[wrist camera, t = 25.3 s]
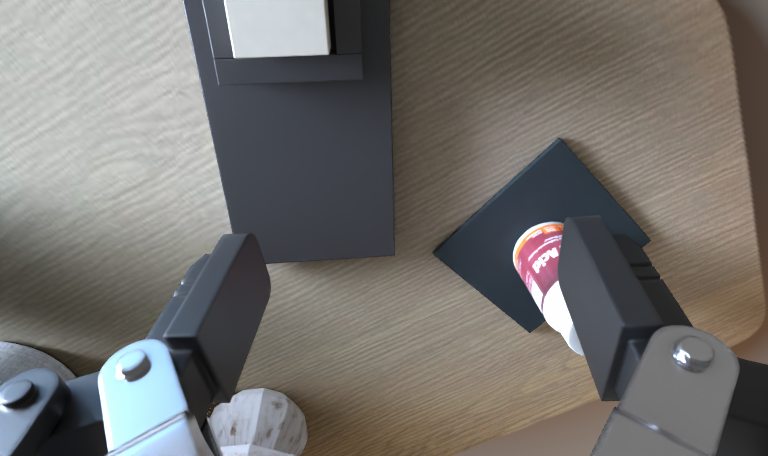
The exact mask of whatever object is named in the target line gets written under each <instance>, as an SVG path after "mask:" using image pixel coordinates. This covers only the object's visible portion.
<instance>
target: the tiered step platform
mask: <svg viewBox="0 0 768 456" xmlns="http://www.w3.org/2000/svg"><path fill="white" fill-rule="evenodd" d="M327 2H328V15H329V28H330V40H331V48H330V52H329V55H315V56H290V57H265V58H240V59H236V58H234V54H233V49H232V43H231V37H230V32H229V26H228V20H227V15H226V9H225V3H224V0H183V4H184V9H185V13H186V18H187V23H188V27H189V32H190V36H191V41H192V46H193V50H194V55H195V60H196V64H197V69H198V74H199V78H200V83H201V88H202V92H203V97H204V102H205V106H206V111H207V116H208V120H209V125H210V130H211V134H212V139H213V144H214V148H215V153H216V158H217V162H218V167H219V172H220V176H221V181H222V186H223V190H224V195H225V200H226V204H227V209H228V214H229V218H230V223H231V228H232V232H233V234H244V233H253V234H254V235H255V236H256V238H257V241H258V244H259V247H260V250H261V253H262V256H263V259H264V261H265V264H271V263H286V262H302V261H318V260H334V259H349V258H365V257H381V256H394V255H395V239H394V189H393V139H392V88H391V38H390V0H327Z"/></svg>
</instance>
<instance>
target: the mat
mask: <svg viewBox="0 0 768 456" xmlns="http://www.w3.org/2000/svg"><path fill="white" fill-rule="evenodd" d="M580 216H600V217H602V219H603V221H604V222H605V224H606V226H607V227H608V229H609V231H610V232H611V234H612V235H625V236H626V237H628V238H629V239H630V240H632V241H633V242H635V243H636V244H637V245H639V246H640V247H641V248H642V247H643V246H645V245H646V244H647V243H649V242H650V241H651V240H650V239H649V238H648V236H647V235H646V234H645V233H644V232H643V231H642V230H641V229H640V227H639V226H638V225H637V224H636V223H635V222H634V221H633V220H632V218H631V217H630V216H629V215H628V214H627V213H626V212H625V210H624V209H623V208H622V207H621V206H620V205H619V204H618V203H617V201H616V200H615V199H614V198H613V197H612V196H611V195H610V194H609V192H608V191H607V190H606V189H605V188H604V187H603V186H602V185H601V183H600V182H599V181H598V180H597V179H596V178H595V177H594V175H593V174H592V173H591V172H590V171H589V170H588V169H587V168H586V166H585V165H584V164H583V163H582V162H581V161H580V160H579V159H578V157H577V156H576V155H575V154H574V153H573V152H572V151H571V150H570V148H569V147H568V146H567V145H566V144H565V143H564V142H563V141H562V139H560V138H558V139H557V140H556V141H555V142H554V143H552V144H551V145H550V146H549V147H548V148H547V149H546V150H545V151H544V152H543V153H541V154H540V155H539V156H538V157H537V158H536V159H535V160H534V161H533V162H531V163H530V164H529V165H528V166H527V167H526V168H525V169H524V170H523V171H522V172H520V173H519V174H518V175H517V176H516V177H515V178H514V179H513V180H512V181H510V182H509V183H508V184H507V185H506V186H505V187H504V188H503V189H502V190H501V191H499V192H498V193H497V194H496V195H495V196H494V197H493V198H492V199H491V200H489V201H488V202H487V203H486V204H485V205H484V206H483V207H482V208H481V209H480V210H478V211H477V212H476V213H475V214H474V215H473V216H472V217H471V218H470V219H468V220H467V221H466V222H465V223H464V224H463V225H462V226H461V227H460V228H459V229H457V230H456V231H455V232H454V233H453V234H452V235H451V236H450V237H449V238H447V239H446V240H445V241H444V242H443V243H442V244H441V245H440V246H439V247H438V248H436V249H435V250H434V251H433V254H434V255H435V256H436V257H437V258H438V259H440V260H441V261H442V262H443V263H445V264H446V265H447V266H448V267H450V268H451V269H452V270H453V271H454V272H456V273H457V274H458V275H459V276H461V277H462V278H463V279H464V280H465V281H467V282H468V283H469V284H470V285H472V286H473V287H474V288H475V289H476V290H478V291H479V292H480V293H481V294H483V295H484V296H485V297H486V298H488V299H489V300H490V301H491V302H492V303H494V304H495V305H496V306H497V307H499V308H500V309H501V310H502V311H503V312H505V313H506V314H507V315H508V316H510V317H511V318H512V319H513V320H515V321H516V322H517V323H518V324H519V325H521V326H522V327H523V328H524V329H526V330H527V331H528V332H529V333H531V332H532V331H533V330H534V329H536V328H537V327H538V326H540V325H541V324H542V323H544V322H545V321H546V320H545V318H544V316H543V314H542V312H541V310H540V309H539V307H538V305H537V304H536V302H535V300H534V298H533V297H532V295H531V293H530V292H529V290H528V288H527V287H526V285H525V283H524V281H523V280H522V278H521V277H520V275H519V273H518V271H517V269H516V268H515V265H514V262H513V252H514V248H515V245H516V243H517V241H518V240H519V238H520V237H521V236H522V235H523V234H524V233H525V232H526V231H527V230H528V229H530V228H532V227H534V226H536V225H538V224H541V223H546V222H561V223H564V222H565V219H566V218H567V217H580Z"/></svg>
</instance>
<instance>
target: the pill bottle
mask: <svg viewBox="0 0 768 456" xmlns="http://www.w3.org/2000/svg"><path fill="white" fill-rule="evenodd" d="M563 226H564V223H561V222H546V223H541V224H538V225H536V226H534V227H532V228H530V229H528V230H527V231H526V232H525V233H524V234H523V235H522V236H521V237H520V238H519V240H518V241H517V243H516V245H515V248H514V252H513V262H514V265H515V268H516V269H517V271H518V273H519V275H520V277H521V278H522V280H523V281H524V283H525V285H526V287H527V288H528V290H529V292H530V293H531V295H532V297H533V298H534V300H535V302H536V304H537V305H538V307H539V309H540V310H541V312H542V314H543V316H544V318H545V320H546V321H547V323H548V324H549V325H550V326H551V327H552V328H554V329H555V330H556V331H558V332H560V333H561V334H562V335H563V337H564V339H565V340H566V342H567V343H568V345H569V346H570V348H571V349H572V350H573V351H575V352H576V353H578V354H580V355H583V356H585V355H584V352H583V350H582V347H581V344H580V341H579V339H578V336H577V333H576V331H575V328H574V325H573V323H572V320H571V317H570V314H569V312H568V309H567V306H566V304H565V301H564V298H563V296H562V293H561V290H560V287H559V282H558V260H559V253H560V246H561V240H562V233H563Z"/></svg>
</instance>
